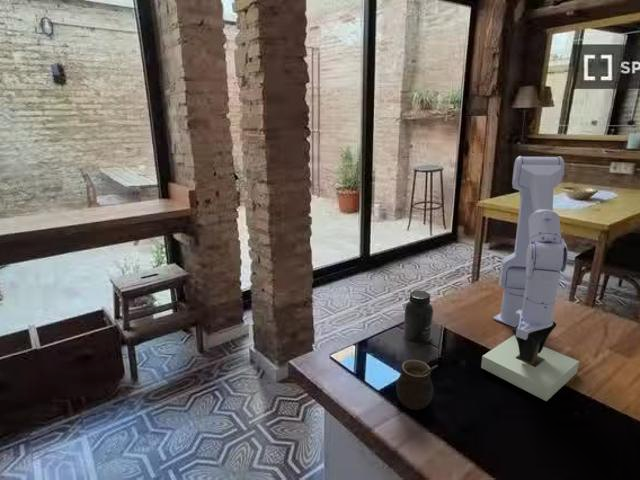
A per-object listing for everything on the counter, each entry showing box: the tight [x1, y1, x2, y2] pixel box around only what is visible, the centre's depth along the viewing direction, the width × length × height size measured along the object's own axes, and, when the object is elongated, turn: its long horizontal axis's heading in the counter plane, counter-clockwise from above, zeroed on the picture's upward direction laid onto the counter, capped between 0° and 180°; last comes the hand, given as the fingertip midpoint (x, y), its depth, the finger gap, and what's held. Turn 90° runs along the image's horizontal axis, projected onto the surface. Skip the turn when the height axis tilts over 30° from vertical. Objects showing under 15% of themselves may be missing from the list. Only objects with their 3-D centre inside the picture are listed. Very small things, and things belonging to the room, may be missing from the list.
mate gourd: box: [395, 359, 439, 411], centre depth 77 cm, size 7×8×10 cm
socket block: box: [480, 334, 580, 402], centre depth 87 cm, size 14×14×3 cm
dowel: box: [521, 345, 539, 367], centre depth 86 cm, size 3×3×7 cm
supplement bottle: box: [403, 290, 434, 345], centre depth 99 cm, size 7×7×12 cm
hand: (530, 355), depth 86 cm, fingers open, 4 cm apart
